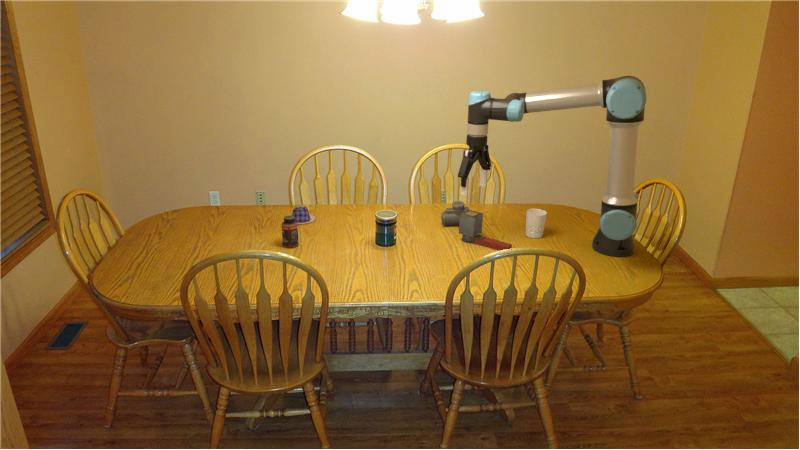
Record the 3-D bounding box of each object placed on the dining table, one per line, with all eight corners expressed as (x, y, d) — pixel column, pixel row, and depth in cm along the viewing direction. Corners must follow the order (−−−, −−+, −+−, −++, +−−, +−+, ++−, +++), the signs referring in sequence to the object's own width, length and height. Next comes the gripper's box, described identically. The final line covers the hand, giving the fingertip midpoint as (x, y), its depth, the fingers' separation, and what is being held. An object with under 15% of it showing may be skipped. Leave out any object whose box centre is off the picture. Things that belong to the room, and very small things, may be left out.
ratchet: (512, 249, 220) (514, 232, 218) (505, 254, 216) (506, 236, 213) (467, 236, 231) (468, 219, 229) (459, 240, 227) (460, 223, 224)
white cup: (544, 240, 229) (547, 216, 226) (523, 238, 231) (526, 214, 227) (543, 232, 236) (546, 209, 233) (523, 230, 238) (526, 207, 234)
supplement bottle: (301, 243, 221) (300, 215, 217) (293, 249, 216) (292, 220, 212) (287, 241, 223) (286, 213, 219) (279, 247, 218) (278, 218, 214)
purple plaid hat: (315, 214, 251) (314, 203, 249) (315, 225, 240) (314, 213, 238) (286, 215, 249) (286, 204, 247) (285, 226, 238) (284, 213, 236)
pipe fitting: (469, 220, 246) (468, 198, 242) (472, 229, 239) (471, 206, 234) (441, 223, 247) (439, 200, 242) (442, 231, 239) (441, 209, 235)
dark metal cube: (481, 232, 227) (483, 213, 224) (473, 237, 222) (474, 217, 219) (467, 228, 231) (468, 209, 228) (458, 233, 226) (460, 213, 223)
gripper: (485, 127, 224) (481, 181, 231) (449, 139, 205) (447, 196, 213) (502, 130, 219) (498, 184, 227) (468, 142, 201) (464, 200, 209)
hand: (473, 190), depth 220 cm, fingers open, 13 cm apart
